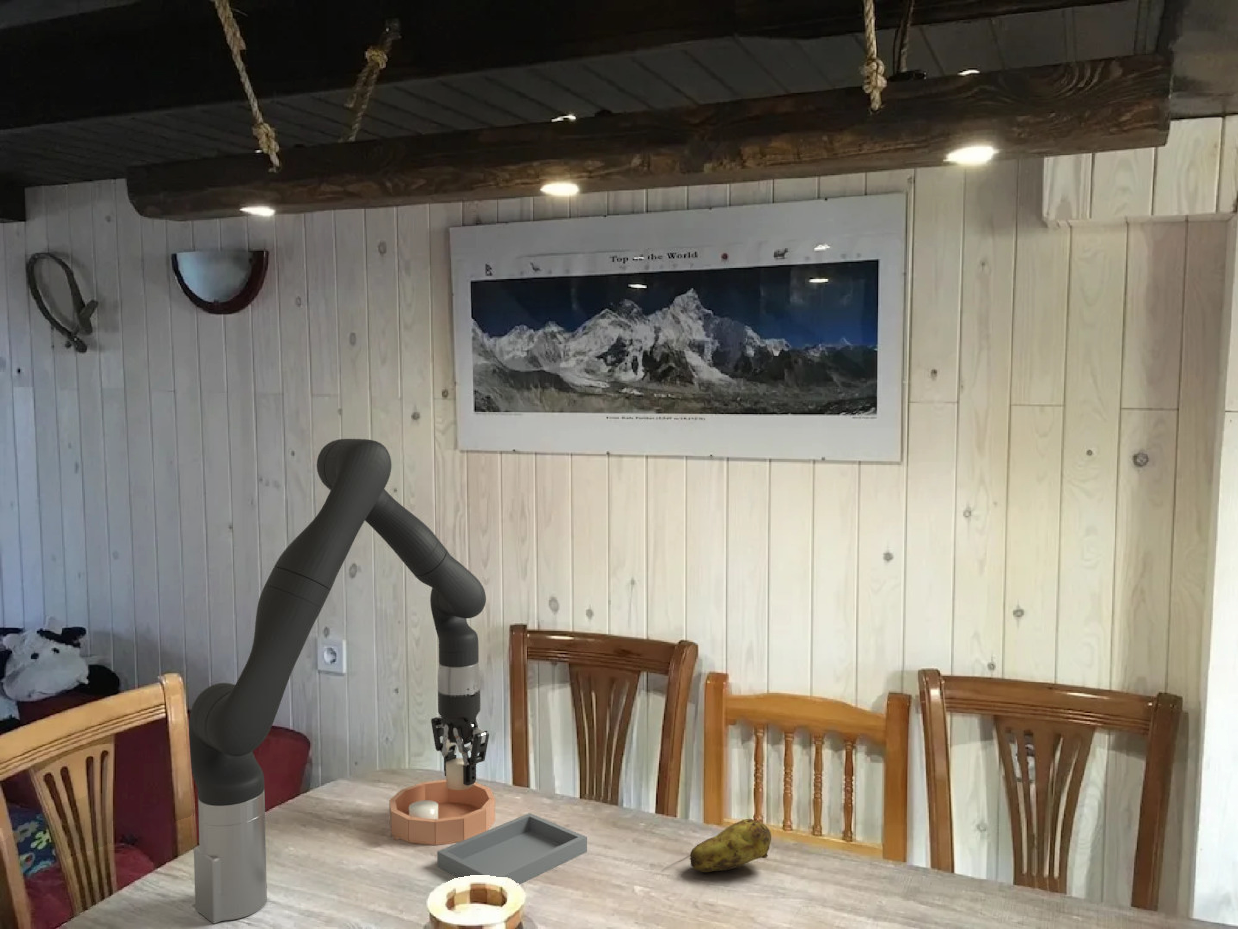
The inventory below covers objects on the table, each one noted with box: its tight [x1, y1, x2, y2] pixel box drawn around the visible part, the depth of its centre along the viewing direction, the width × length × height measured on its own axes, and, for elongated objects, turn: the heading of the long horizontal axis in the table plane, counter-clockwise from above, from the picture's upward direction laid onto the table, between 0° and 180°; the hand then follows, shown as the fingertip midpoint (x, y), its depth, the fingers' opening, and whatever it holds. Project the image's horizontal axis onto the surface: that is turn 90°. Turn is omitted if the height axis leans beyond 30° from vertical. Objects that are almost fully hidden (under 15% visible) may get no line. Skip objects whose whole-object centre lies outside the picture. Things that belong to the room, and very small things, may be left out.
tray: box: [436, 812, 588, 885], centre depth 162 cm, size 20×14×4 cm
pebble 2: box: [445, 757, 474, 790], centre depth 179 cm, size 5×5×4 cm
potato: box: [689, 818, 772, 873], centre depth 161 cm, size 8×13×8 cm, turn 81°
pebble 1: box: [409, 800, 438, 819], centre depth 173 cm, size 5×5×4 cm
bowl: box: [388, 779, 496, 846], centre depth 176 cm, size 18×18×5 cm
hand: (460, 779), depth 179 cm, fingers closed on pebble 2, 4 cm apart
